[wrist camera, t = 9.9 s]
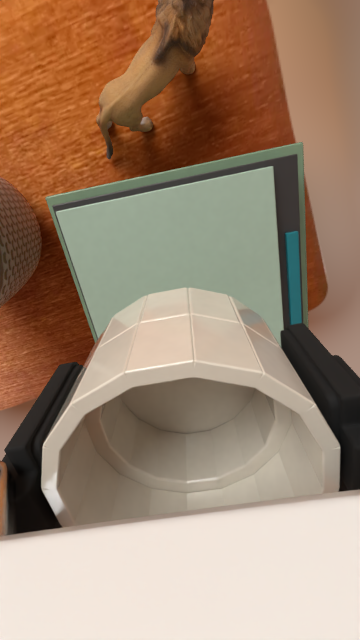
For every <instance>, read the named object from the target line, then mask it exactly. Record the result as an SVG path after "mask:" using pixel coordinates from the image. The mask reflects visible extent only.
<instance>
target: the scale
mask: <svg viewBox="0 0 360 640" xmlns="http://www.w3.org/2000/svg"><path fill="white" fill-rule="evenodd" d="M52 207H53V210H54V213H55V216H56V219H57V222H58V225H59V228H60V231H61V234H62V237H63V240H64V243H65V246H66V249H67V252H68V255H69V258H70V261H71V263H72V266H73V269H74V272H75V275H76V278H77V281H78V284H79V287H80V290H81V293H82V296H83V299H84V302H85V305H86V308H87V311H88V314H89V317H90V320H91V323H92V325H93V328H94V331H95V334H96V337H97V340H98V338H99V337H100V335H101V334H102V332H103V331H104V329H105V327H106V326H107V324H108V323H109V321H110V320H111V318H113V317H114V315H115V314H117V313H118V312H120V311H121V310H123V309H125V308H126V307H128V306H129V305H131V304H132V303H134V302H135V301H137V300H138V299H140V298H142V297H143V296H145V295H146V296H147V295H149V294H153V293H158V292H163V291H169V290H174V289H180V288H196V289H201V290H206V291H211V292H216V293H222V294H227V295H228V296H231V297H233V298H235V299H236V300H238V301H239V302H241V303H242V304H244V305H245V306H247V307H248V308H250V309H251V310H253V311H254V312H256V313H257V314H259V315H260V316H261V318H263V319H264V321H265V322H266V324H267V325H268V327H269V329H270V330H271V332H272V334H273V335H274V337H275V338H276V340H277V342H278V343H279V345H280V347H281V338H280V332H281V331H282V330H285V327H286V326H287V325H293V324H299V323H303V297H302V269H301V241H300V212H299V184H298V156H297V154H293V155H288V156H283V157H279V158H274V159H269V160H264V161H260V162H255V163H250V164H246V165H241V166H236V167H231V168H227V169H222V170H217V171H212V172H208V173H203V174H198V175H194V176H189V177H184V178H179V179H175V180H170V181H165V182H161V183H156V184H151V185H146V186H142V187H137V188H132V189H128V190H123V191H118V192H113V193H109V194H104V195H99V196H95V197H90V198H85V199H80V200H76V201H71V202H66V203H62V204H57V205H53V206H52Z"/></svg>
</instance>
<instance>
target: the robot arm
mask: <svg viewBox="0 0 360 640" xmlns="http://www.w3.org/2000/svg"><path fill="white" fill-rule="evenodd" d="M280 338H281V348H282V350H283V351H284V353H285V355H286V356H287V358H288V360H289V361H290V363H291V364H292V366H293V368H294V369H295V371H296V373H297V374H298V376H299V377H300V379H301V381H302V382H303V384H304V386H305V387H306V389H307V390H308V392H309V394H310V395H311V397H312V399H313V400H314V402H315V403H316V405H317V407H318V408H319V410H320V412H321V413H322V415H323V417H324V418H325V420H326V422H327V423H328V425H329V427H330V428H331V430H332V432H333V433H334V435H335V437H336V438H337V440H338V442H339V443H340V447H341V453H340V488H339V491H338V492H332V493H323V494H315V495H307V496H299V497H291V498H283V499H275V500H267V501H259V502H251V503H244V504H236V505H228V506H220V507H212V508H205V509H197V510H189V511H182V512H174V513H167V514H159V515H152V516H144V517H136V518H129V519H121V520H114V521H107V522H99V523H92V524H85V525H78V526H70V527H62V525H60V523H59V522H58V520H57V518H56V516H55V514H54V512H53V510H52V509H51V507H50V505H49V503H48V501H47V499H46V497H45V496H44V494H43V492H42V488H41V474H42V446H43V443H44V441H45V439H46V437H47V435H48V433H49V432H50V430H51V428H52V426H53V424H54V422H55V420H56V418H57V416H58V414H59V412H60V410H61V408H62V406H63V404H64V403H65V401H66V399H67V397H68V395H69V393H70V391H71V389H72V387H73V385H74V383H75V382H76V380H77V378H78V376H79V374H80V372H81V370H82V368H83V365H79V364H78V363H77V362H72V363H67V364H61V365H59V366H58V368H57V370H56V371H55V373H54V374H53V376H52V377H51V379H50V380H49V382H48V383H47V385H46V386H45V388H44V390H43V391H42V393H41V394H40V396H39V397H38V399H37V400H36V402H35V404H34V405H33V407H32V408H31V410H30V411H29V413H28V414H27V416H26V417H25V419H24V420H23V422H22V423H21V425H20V427H19V428H18V430H17V431H16V433H15V434H14V436H13V437H12V439H11V441H10V442H9V444H8V445H7V447H6V448H5V452H6V455H5V457H4V458H3V460H2V461H0V640H360V378H359V377H358V376H357V375H356V373H355V372H354V371H353V370H352V369H351V368H350V367H349V366H348V365H347V364H346V363H345V362H344V361H343V359H342V358H341V357H339V356H337V355H334V356H332V355H331V354H330V353H329V352H328V350H327V349H326V348H325V347H324V346H323V345H322V344H321V343H320V341H319V340H318V339H317V338H316V337H315V336H314V335H313V333H312V332H311V331H310V330H309V329H308V328H307V327H306V325H305V324H304V323H299V324H293V325H287V326H286V327H285V330H282V331H281V332H280Z"/></svg>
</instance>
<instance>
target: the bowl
mask: <svg viewBox="0 0 360 640" xmlns="http://www.w3.org/2000/svg"><path fill="white" fill-rule="evenodd" d="M340 453H341V447H340V443H339V442H338V440H337V438H336V437H335V435H334V433H333V432H332V430H331V428H330V427H329V425H328V423H327V422H326V420H325V418H324V417H323V415H322V413H321V412H320V410H319V408H318V407H317V405H316V403H315V402H314V400H313V399H312V397H311V395H310V394H309V392H308V390H307V389H306V387H305V386H304V384H303V382H302V381H301V379H300V377H299V376H298V374H297V373H296V371H295V369H294V368H293V366H292V364H291V363H290V361H289V360H288V358H287V356H286V355H285V353H284V351H283V350H282V348H281V347H280V345H279V343H278V342H277V340H276V338H275V337H274V335H273V334H272V332H271V330H270V329H269V327H268V325H267V324H266V322H265V321H264V319H263V318H261V316H260V315H259V314H257V313H256V312H254V311H253V310H251V309H250V308H248V307H247V306H245V305H244V304H242V303H241V302H239V301H238V300H236V299H235V298H233V297H231V296H228V295H227V294H222V293H216V292H211V291H206V290H201V289H196V288H180V289H174V290H169V291H163V292H158V293H153V294H149V295H147V296H146V295H145V296H143V297H142V298H140V299H138V300H137V301H135V302H134V303H132V304H131V305H129V306H128V307H126V308H125V309H123V310H121V311H120V312H118V313H117V314H115V315H114V317H113V318H111V320H110V321H109V323H108V324H107V326H106V327H105V329H104V331H103V332H102V334H101V335H100V337H99V338H98V340H97V341H96V343H95V345H94V347H93V348H92V350H91V352H90V354H89V356H88V358H87V360H86V362H85V364H84V366H83V368H82V370H81V372H80V374H79V376H78V378H77V380H76V382H75V383H74V385H73V387H72V389H71V391H70V393H69V395H68V397H67V399H66V401H65V403H64V404H63V406H62V408H61V410H60V412H59V414H58V416H57V418H56V420H55V422H54V424H53V426H52V428H51V430H50V432H49V433H48V435H47V437H46V439H45V441H44V443H43V446H42V474H41V488H42V492H43V494H44V496H45V497H46V499H47V501H48V503H49V505H50V507H51V509H52V510H53V512H54V514H55V516H56V518H57V520H58V522H59V523H60V525H62V527H70V526H78V525H85V524H92V523H99V522H107V521H114V520H121V519H129V518H136V517H144V516H152V515H159V514H167V513H174V512H182V511H189V510H197V509H205V508H212V507H220V506H228V505H236V504H244V503H251V502H259V501H267V500H275V499H283V498H291V497H299V496H307V495H315V494H323V493H332V492H338V491H339V488H340Z"/></svg>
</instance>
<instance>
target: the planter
mask: <svg viewBox="0 0 360 640" xmlns="http://www.w3.org/2000/svg"><path fill="white" fill-rule="evenodd" d="M41 249H42V238H41V231H40V226H39V223H38V221H37V218H36V216H35V214H34V212H33V210H32V208H31V206H30V205H29V203H28V202H27V200H26V199H25V198H24V197H23V195H22V194H21V193H20V192H19V191H18V190H17V189H16V188H15V187H14V186H13V185H12V184H10V183H9V182H8V181H6V180H5V179H3V178H2V177H0V308H1V307H2V306H3V305H4V304H5V303H6V302H7V301H9V300H10V299H11V298H12V297H13V296H14V295H15V294H16V293H17V292H18V291H19V290H20V289H21V288H22V287H23V286H24V285H25V284H26V283H27V281H28V280H29V279H30V277H31V276H32V275H33V273H34V271H35V269H36V267H37V265H38V263H39V259H40V256H41Z"/></svg>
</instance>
